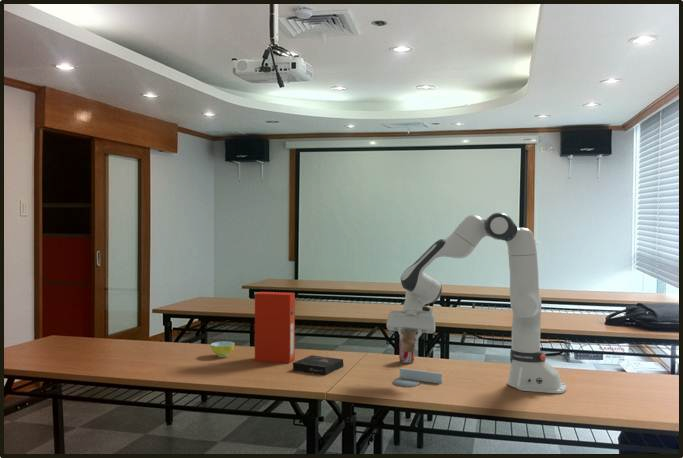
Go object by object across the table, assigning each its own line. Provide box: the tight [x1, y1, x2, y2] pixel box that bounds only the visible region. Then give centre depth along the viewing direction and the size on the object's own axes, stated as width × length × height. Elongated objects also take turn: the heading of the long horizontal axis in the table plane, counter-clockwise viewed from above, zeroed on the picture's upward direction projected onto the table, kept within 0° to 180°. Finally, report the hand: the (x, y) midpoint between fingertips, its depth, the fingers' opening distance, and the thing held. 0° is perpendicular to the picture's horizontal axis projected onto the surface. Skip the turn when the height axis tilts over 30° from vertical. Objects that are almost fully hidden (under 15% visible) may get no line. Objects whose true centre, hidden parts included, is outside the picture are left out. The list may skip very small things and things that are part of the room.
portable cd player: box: [292, 354, 344, 376], centre depth 253 cm, size 16×17×4 cm
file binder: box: [254, 291, 296, 364], centre depth 269 cm, size 8×17×32 cm, turn 78°
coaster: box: [392, 378, 420, 388], centre depth 231 cm, size 11×11×1 cm
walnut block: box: [402, 330, 416, 353], centre depth 232 cm, size 4×4×8 cm
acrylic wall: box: [398, 367, 443, 385], centre depth 235 cm, size 18×2×4 cm, turn 64°
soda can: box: [398, 339, 415, 364], centre depth 267 cm, size 7×7×12 cm
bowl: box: [210, 340, 236, 358], centre depth 276 cm, size 11×12×6 cm
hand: (408, 339), depth 231 cm, fingers closed on walnut block, 4 cm apart
